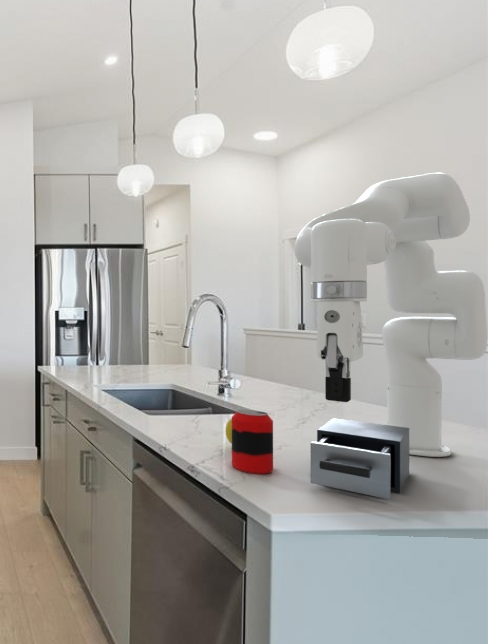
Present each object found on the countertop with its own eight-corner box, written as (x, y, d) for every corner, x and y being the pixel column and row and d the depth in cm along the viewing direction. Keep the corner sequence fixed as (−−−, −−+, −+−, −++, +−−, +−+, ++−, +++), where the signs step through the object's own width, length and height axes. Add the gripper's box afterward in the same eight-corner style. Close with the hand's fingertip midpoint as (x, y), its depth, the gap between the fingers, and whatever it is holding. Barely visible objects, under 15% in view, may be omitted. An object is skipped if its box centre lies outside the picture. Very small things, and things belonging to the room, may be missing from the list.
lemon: (255, 452, 118) (255, 418, 118) (230, 451, 120) (230, 418, 119) (246, 445, 124) (246, 413, 124) (222, 444, 125) (222, 413, 125)
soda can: (280, 475, 103) (280, 417, 103) (240, 473, 104) (240, 416, 104) (263, 463, 110) (263, 409, 110) (226, 462, 111) (226, 408, 111)
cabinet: (400, 493, 92) (400, 441, 92) (317, 476, 102) (317, 429, 102) (409, 474, 102) (409, 427, 102) (332, 460, 112) (332, 418, 111)
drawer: (385, 506, 84) (385, 460, 84) (304, 488, 93) (304, 446, 93) (399, 480, 96) (399, 440, 96) (326, 466, 105) (326, 429, 105)
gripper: (358, 291, 77) (357, 410, 78) (374, 293, 88) (373, 398, 88) (300, 293, 83) (300, 403, 83) (321, 294, 93) (321, 392, 93)
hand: (338, 400), depth 85 cm, fingers closed
